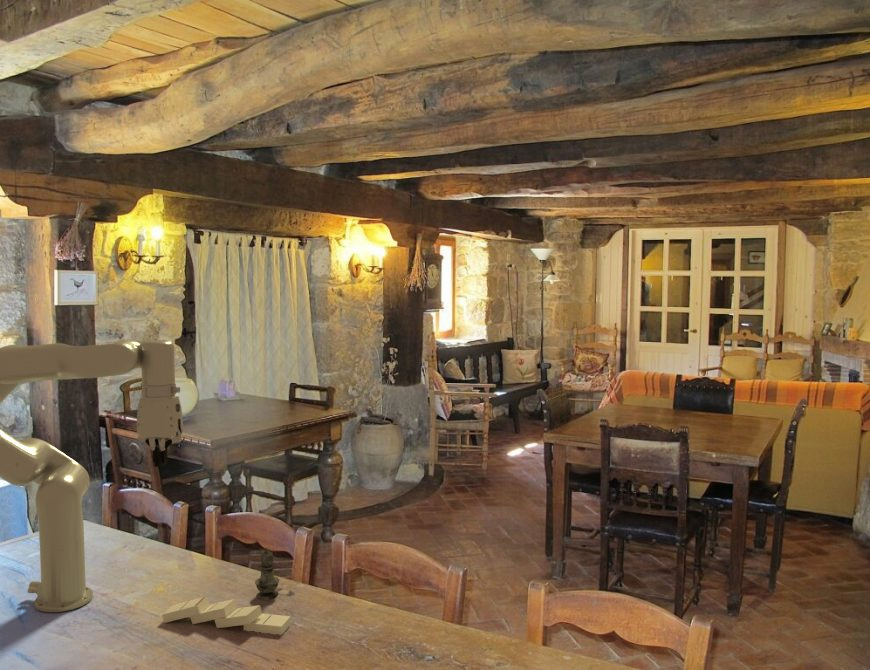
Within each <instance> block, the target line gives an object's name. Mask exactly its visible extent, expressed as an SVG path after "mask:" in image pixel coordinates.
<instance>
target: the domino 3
mask: <svg viewBox="0 0 870 670" xmlns="http://www.w3.org/2000/svg"><path fill="white" fill-rule="evenodd" d="M261 614H263V612H262V607H261V604H260V605H252V606H245V607H244V606H242V607H237V608H236V609H235V610H234V611H232V612H231V613H230V614H229V615H228V616H227V617H223V618H218V619H214V622H215V626H216V629H221V628H228V627H237V626H238V627H239V626H244V625H247V624H250V623H251V622H253V621H254V620H255V619H256V618H258V617H259V616H260V615H261Z"/></svg>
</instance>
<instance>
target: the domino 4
mask: <svg viewBox="0 0 870 670" xmlns="http://www.w3.org/2000/svg"><path fill="white" fill-rule="evenodd" d="M291 617H292V616H290V615H283V614H282V615H281V614H272V613H271V614H270V613H262V614H261V615H260V616H259V617H258V618H256V619H255V620H254V621H253V622H251V623H250V624H247V625H243V631H244V630H246V631H245V632H250V631H255V632H254V633H259V632H261V633H260V634H267V633H270V634H269V635H276V634H279V635H278V636H283V634H284V633H285V631H287V630H288V628H289V627H290V626H291Z"/></svg>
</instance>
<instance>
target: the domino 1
mask: <svg viewBox="0 0 870 670" xmlns="http://www.w3.org/2000/svg"><path fill="white" fill-rule="evenodd" d="M210 604H211V603H210V601H209V598H208V595H206V596H202V597H198V598H194V599H190V600H187V601H184V602H179V603H175V604H172V605H171V606H170V607H168V608H167V609H166V610H164V612H163V613H162V614H161V618H162V621H163V622H164V624H166V623H170V622H173V621H177V620H182V619H185V618H190V616H194V615H198V614H200V613H201V612H202V611H203V610H204V609H205V608H206V607H207V606H208V605H210Z"/></svg>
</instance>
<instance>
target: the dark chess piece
mask: <svg viewBox="0 0 870 670" xmlns="http://www.w3.org/2000/svg"><path fill="white" fill-rule="evenodd" d="M260 554H261V556H260V565H259V568H260V577H258V578H257V579H256V580H255V581H254V584H255V586H256V588H257V590H258V592H257V594H256V599H259V600H261V601H262V600H263V601H269V600H273V599H275V598H277V597H278V596H279V592H278V591H277V588H278V586H279V583H280V578H278V577H276V576H275V574H274V568H275V564H274V554H273V552H272V551H269V548H268V547H267V548H265V550H264V551H263V552H261V553H260Z"/></svg>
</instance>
